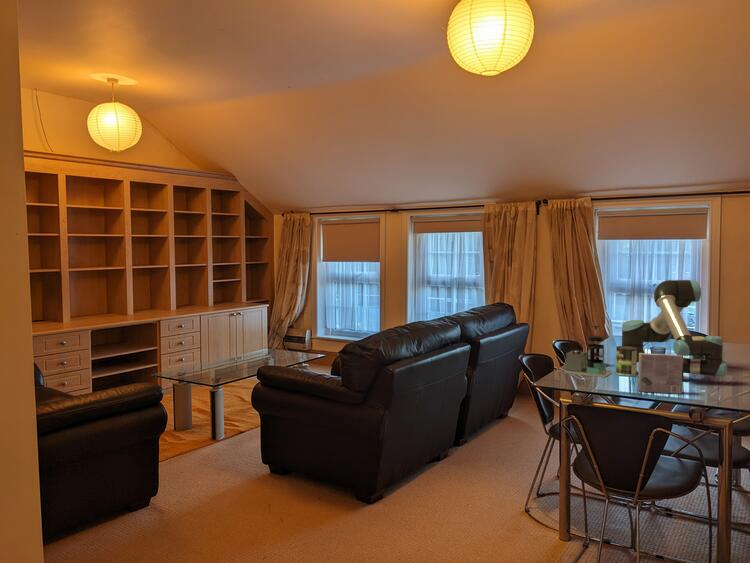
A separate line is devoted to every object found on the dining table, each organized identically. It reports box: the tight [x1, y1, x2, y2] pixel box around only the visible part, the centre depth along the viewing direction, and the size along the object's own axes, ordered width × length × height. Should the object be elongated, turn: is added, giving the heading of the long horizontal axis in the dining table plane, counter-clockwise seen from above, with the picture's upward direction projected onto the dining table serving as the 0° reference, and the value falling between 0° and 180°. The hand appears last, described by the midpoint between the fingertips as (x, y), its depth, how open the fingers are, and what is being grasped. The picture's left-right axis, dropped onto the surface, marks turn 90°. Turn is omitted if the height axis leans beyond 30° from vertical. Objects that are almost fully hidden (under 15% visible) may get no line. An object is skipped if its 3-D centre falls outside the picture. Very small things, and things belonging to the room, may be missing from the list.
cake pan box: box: [637, 352, 685, 395], centre depth 272 cm, size 19×5×18 cm, turn 77°
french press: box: [586, 325, 605, 368], centre depth 332 cm, size 12×9×23 cm
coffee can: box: [615, 345, 638, 377], centre depth 312 cm, size 10×10×14 cm
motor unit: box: [563, 349, 612, 378], centre depth 315 cm, size 14×21×11 cm
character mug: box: [691, 335, 706, 359], centre depth 355 cm, size 11×7×13 cm, turn 50°
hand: (644, 361), depth 307 cm, fingers open, 13 cm apart
